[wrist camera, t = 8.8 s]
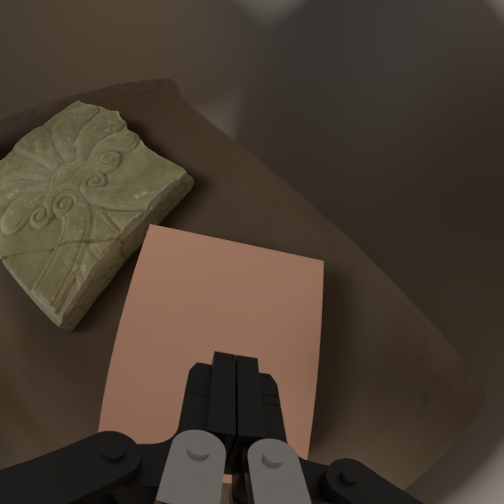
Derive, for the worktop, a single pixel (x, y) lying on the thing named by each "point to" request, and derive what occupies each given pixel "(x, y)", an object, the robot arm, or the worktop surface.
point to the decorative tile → (80, 206)
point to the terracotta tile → (212, 330)
